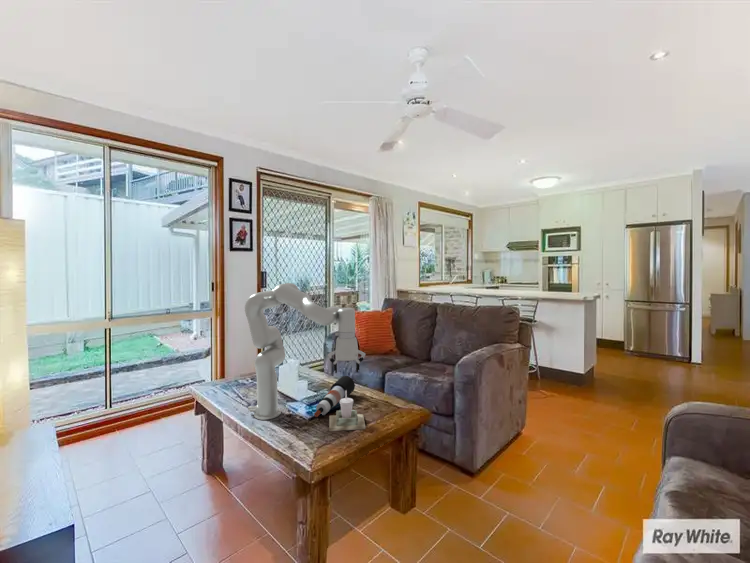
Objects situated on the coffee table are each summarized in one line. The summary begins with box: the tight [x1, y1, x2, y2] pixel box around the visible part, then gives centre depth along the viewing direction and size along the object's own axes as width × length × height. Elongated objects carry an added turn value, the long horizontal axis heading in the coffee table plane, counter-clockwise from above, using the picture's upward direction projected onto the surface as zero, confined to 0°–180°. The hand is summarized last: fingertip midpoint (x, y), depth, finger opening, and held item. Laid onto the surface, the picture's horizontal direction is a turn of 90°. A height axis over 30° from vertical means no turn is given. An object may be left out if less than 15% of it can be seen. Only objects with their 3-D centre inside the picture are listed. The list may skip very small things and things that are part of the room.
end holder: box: [328, 409, 366, 432], centre depth 164 cm, size 16×13×4 cm
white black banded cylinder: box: [313, 375, 356, 418], centre depth 184 cm, size 10×34×10 cm, turn 159°
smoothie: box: [339, 391, 354, 418], centre depth 164 cm, size 6×6×14 cm
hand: (346, 371), depth 163 cm, fingers open, 9 cm apart
